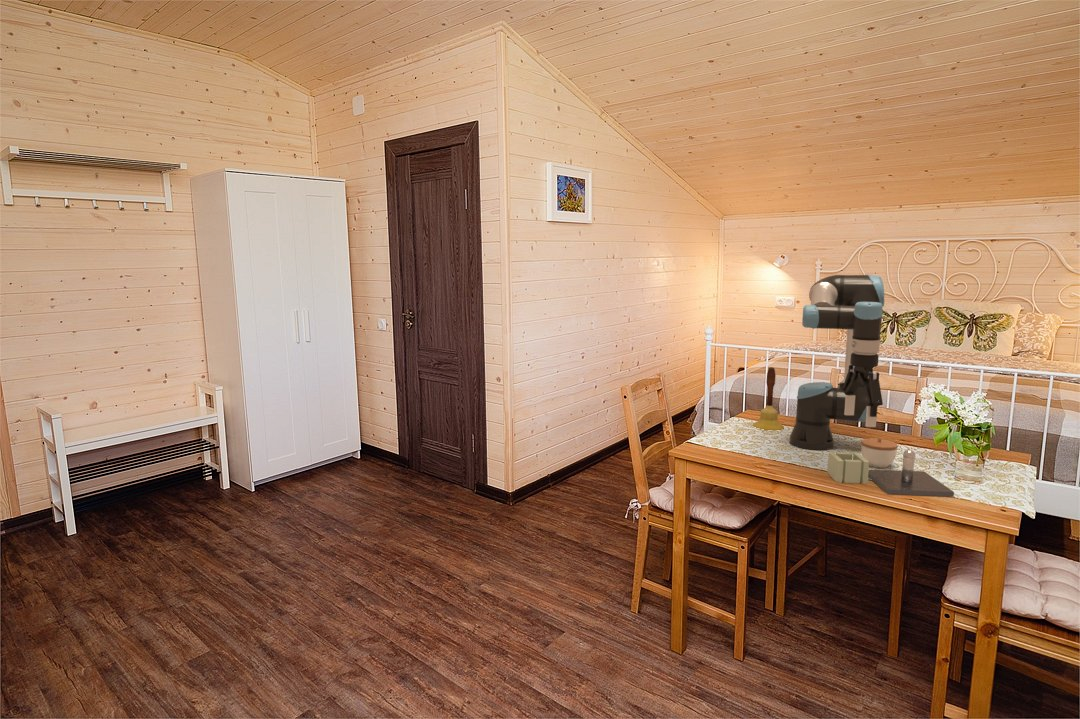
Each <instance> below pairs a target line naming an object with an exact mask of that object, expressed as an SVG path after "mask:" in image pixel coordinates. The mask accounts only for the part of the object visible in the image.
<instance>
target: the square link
mask: <svg viewBox="0 0 1080 719" xmlns="http://www.w3.org/2000/svg"><path fill="white" fill-rule="evenodd" d="M869 469H870V465H869V461H867V460H866V459H865V458H864V457H863V456H862V454H860V453H858V452H853V453H852V452H834V451H833V452H832V451H829V452H828V460H827V472H826V473H827V474H828V475H829V476H830V477H831V478H832V479H833V480H834V481H835V482H836V483H841V484H842V483H844V484H864V485H867V484H868V483H869V478H868V472H869Z"/></svg>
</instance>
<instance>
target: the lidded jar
mask: <svg viewBox="0 0 1080 719" xmlns="http://www.w3.org/2000/svg"><path fill="white" fill-rule="evenodd" d="M860 443H861V446H860V447H861V448H860V450H861V456H862V457H864V458H865V459H866V460H867V461H869V467H870V466H871V467H873V468H874V467H875V468H883V469H885V468H888V467H889V465H891V464H892V463H893V462H894V461H895V460H896V457H897V452H898V448H899V447H898V443H896V442H894V441H891V440H888V439H883V438H882V437H877V438H875V437H873V438H872V437H870V438H863V439H862V440H861V442H860Z"/></svg>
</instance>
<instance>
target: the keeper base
mask: <svg viewBox="0 0 1080 719" xmlns="http://www.w3.org/2000/svg"><path fill="white" fill-rule="evenodd" d="M915 459H916V452H915V451H913V450H912V449H905V450H904V452H903V453H902V466H901V467H902V468H901V470H896V469H895V470H894V469H892V470H891V469H870V468H869V472H868V479H869V480H871V481H872V482H873V483H874V484H875V485H877V487H878V488H879V489H881V490H883V492H884V493H886V494H887V495H899V496H920V497H921V496H922V497H925V496H926V497H941V498H942V497H944V498H945V497H946V498H947V497H948V498H950V497H951V498H955V496H954V495H955V492H954V491H953V490H952V489H950V488H949V487H948V486H946V485H945V484H943V483H942V482H940V481H938V480H937V479H936V478H934V477H933V476H931V475H930V474H929V473H927V472H926V471H923V470H914V468H915V461H916V460H915Z"/></svg>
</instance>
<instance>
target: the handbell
mask: <svg viewBox="0 0 1080 719" xmlns="http://www.w3.org/2000/svg"><path fill="white" fill-rule="evenodd" d="M776 377H777V376H776V369H775V367H773V366H772V367H768V369H767V374H766V385H767V394H766V395H767V397H766V398H767V399H766V405H765V407H764V408H762V409H761V410H760V418H759V419H758V421H756V422H754V423H753V424H752V427H753V426H754V427H756V428H755V429H757V428H760V429H764V430H763V431H767V430H780V431H783V430H785V427H784V425H782V423H780V421H779V419H778V411H777V410H776V409H775V408H774V407H773V398H774V387H775V385H776ZM754 427H753V428H754ZM760 429H759V430H760ZM782 429H783V430H782Z"/></svg>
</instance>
